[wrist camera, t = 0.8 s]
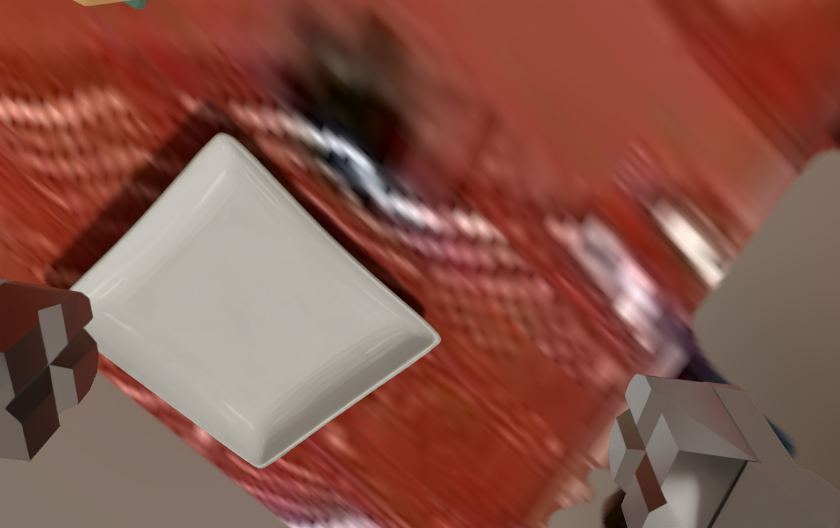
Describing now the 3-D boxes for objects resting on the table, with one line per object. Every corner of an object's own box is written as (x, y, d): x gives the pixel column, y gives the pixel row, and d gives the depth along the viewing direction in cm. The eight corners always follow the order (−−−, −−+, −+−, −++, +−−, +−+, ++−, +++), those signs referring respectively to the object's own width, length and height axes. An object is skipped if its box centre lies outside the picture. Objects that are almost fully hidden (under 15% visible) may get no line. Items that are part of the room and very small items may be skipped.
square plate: (269, 449, 68) (259, 475, 65) (66, 293, 60) (43, 314, 56) (445, 322, 59) (445, 345, 55) (235, 116, 50) (219, 128, 47)
